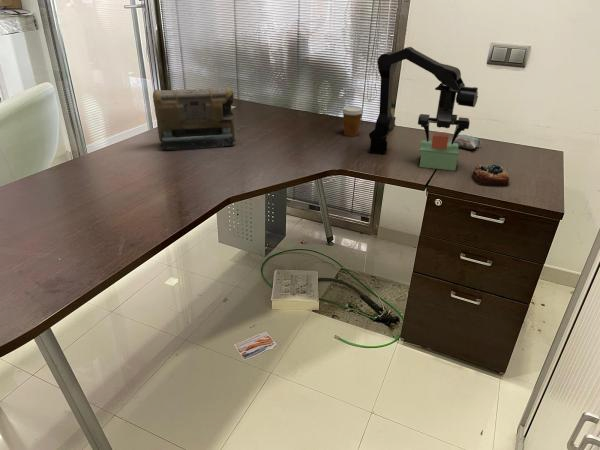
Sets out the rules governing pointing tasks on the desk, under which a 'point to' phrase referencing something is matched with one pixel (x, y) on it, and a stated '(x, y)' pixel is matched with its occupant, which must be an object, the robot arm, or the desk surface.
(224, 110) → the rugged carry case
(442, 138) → the red cube
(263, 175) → the desk surface
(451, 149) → the lunchbox lid
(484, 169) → the pastry
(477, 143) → the packaged food
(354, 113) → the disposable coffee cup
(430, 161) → the lunchbox
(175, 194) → the desk surface
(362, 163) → the desk surface
